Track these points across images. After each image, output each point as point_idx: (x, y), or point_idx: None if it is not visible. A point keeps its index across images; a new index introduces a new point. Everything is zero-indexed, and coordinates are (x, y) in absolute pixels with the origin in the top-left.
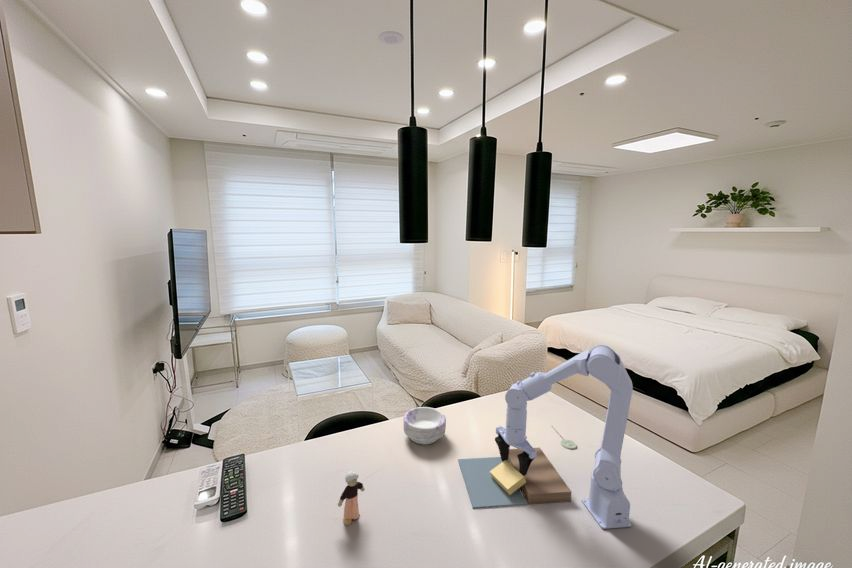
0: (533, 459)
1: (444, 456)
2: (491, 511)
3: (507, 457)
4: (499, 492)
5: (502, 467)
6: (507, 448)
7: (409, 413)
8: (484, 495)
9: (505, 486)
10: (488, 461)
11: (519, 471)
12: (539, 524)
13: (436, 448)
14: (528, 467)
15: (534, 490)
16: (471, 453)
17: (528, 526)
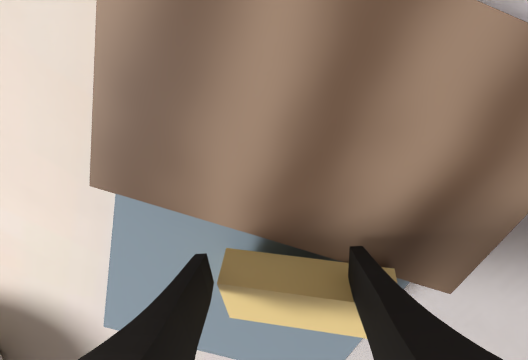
0: (465, 338)
1: (77, 342)
2: (363, 351)
3: (203, 265)
4: None
5: (252, 303)
6: (180, 323)
7: None
8: (305, 345)
9: (349, 335)
10: (140, 250)
11: (355, 303)
12: (508, 281)
13: (26, 342)
14: (390, 280)
15: (452, 261)
16: (67, 268)
17: (482, 309)
